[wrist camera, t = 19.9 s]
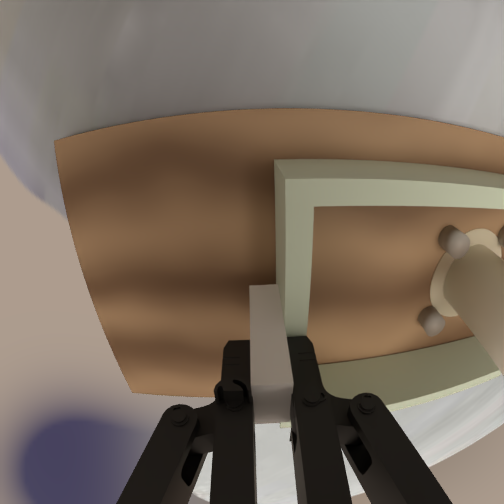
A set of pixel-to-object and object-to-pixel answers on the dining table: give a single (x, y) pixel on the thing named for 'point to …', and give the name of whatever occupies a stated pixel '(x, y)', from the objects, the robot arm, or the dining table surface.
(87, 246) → the board
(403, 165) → the pale green open frame
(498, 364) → the beige rounded cylinder
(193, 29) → the dining table surface
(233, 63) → the dining table surface
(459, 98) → the dining table surface
